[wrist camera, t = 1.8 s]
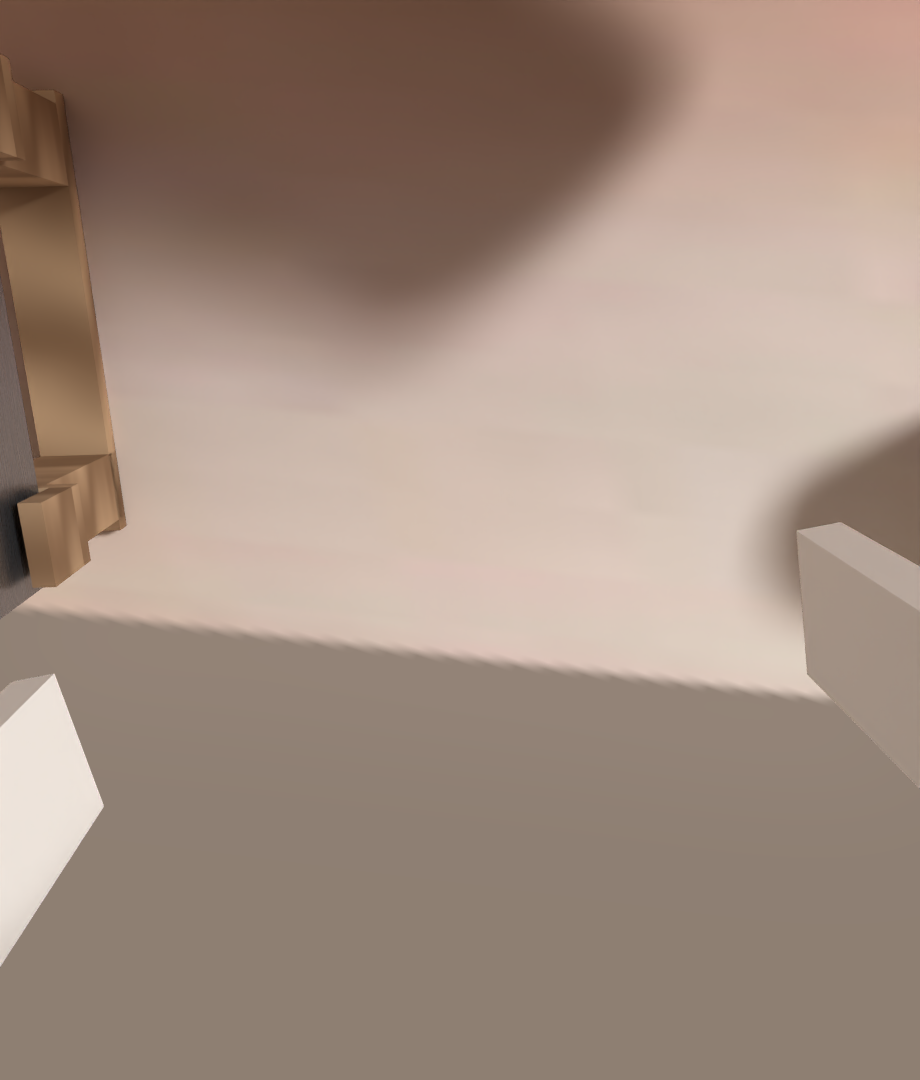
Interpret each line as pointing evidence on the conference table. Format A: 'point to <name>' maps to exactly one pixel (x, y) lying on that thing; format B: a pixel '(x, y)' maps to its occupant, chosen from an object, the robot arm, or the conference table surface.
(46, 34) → the conference table surface
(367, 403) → the conference table surface
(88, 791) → the robot arm
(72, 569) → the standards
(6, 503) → the rail
